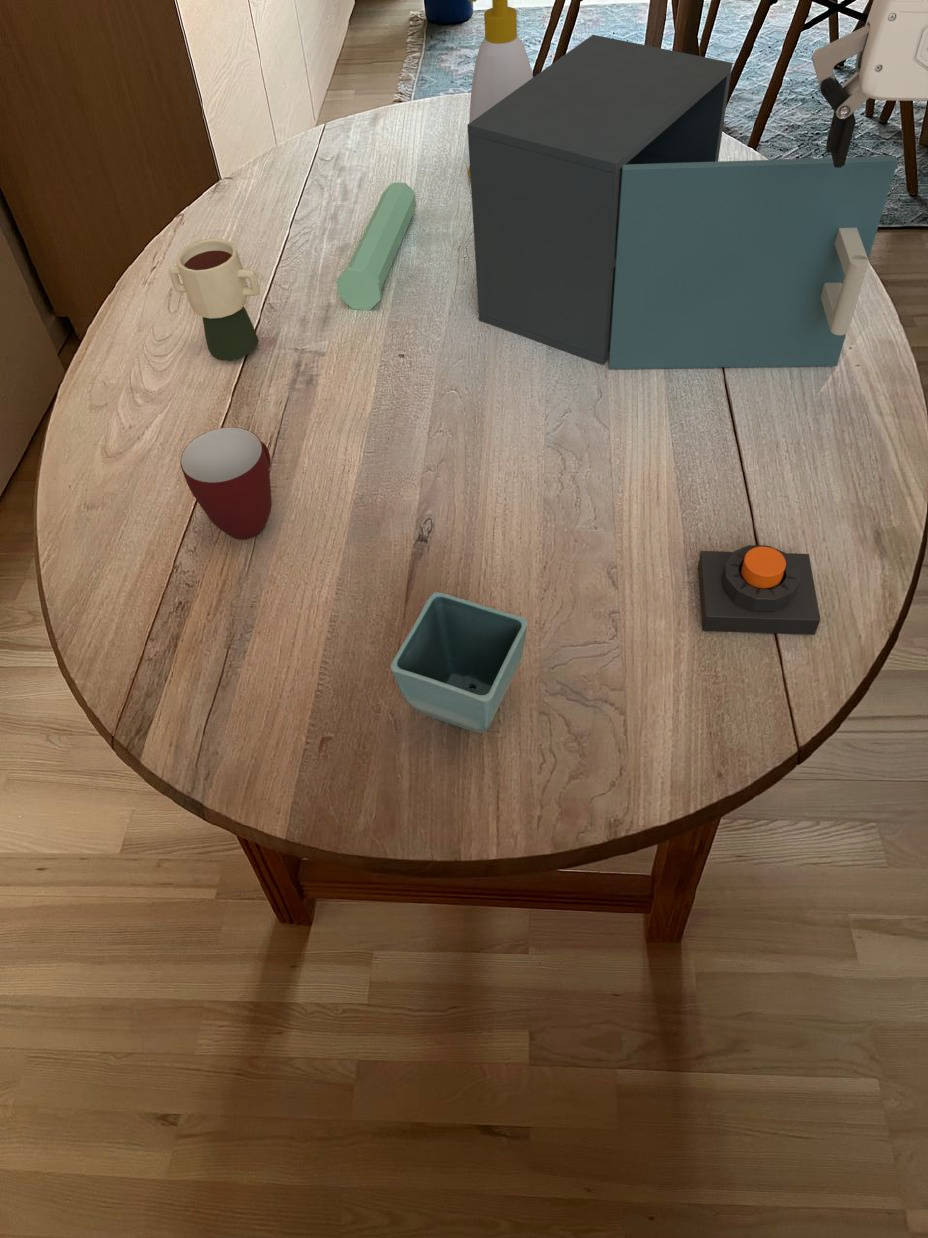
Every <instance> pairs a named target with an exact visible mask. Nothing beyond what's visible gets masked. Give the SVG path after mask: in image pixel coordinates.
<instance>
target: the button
mask: <svg viewBox="0 0 928 1238" xmlns="http://www.w3.org/2000/svg"><path fill="white" fill-rule="evenodd" d="M773 548H774V547H773ZM773 548H770V547H755V548H753V549H751V550H749V551H748V552H747V553H746V555H745V558H744V562H743V566H742V570H741V573H742V576H743V578H744V580H745V581H746V582H747V583H748V584H750V585H752V586H754V587H756V588H761V589H767V588H772V587H774V586H776V585H778V584H779V583H780V581H781V580H782V576H783V573H784V570H785V567H786V561H785V558H784V556H783V555H782V554H781V553H780V552H779V551H777V550H775V549H776V548H775V549H773Z"/></svg>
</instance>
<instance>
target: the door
mask: <svg viewBox="0 0 928 1238" xmlns="http://www.w3.org/2000/svg"><path fill="white" fill-rule="evenodd" d="M898 161H899V160H898V158H897V156H896V155H880V156H879V155H878V156H847V157H846V161H845V165H844V166H842V167H841V168H835V167H834V163H833V159H832V157H818V158H817V157H816V158H815V157H814V158H813V157H812V158H788V159H783V158H782V159H755V160H754V159H753V160H751V159H750V160H729V161H728V160H727V161H726V160H725V161H723V160H722V161H720V160H719V161H718V162H689V163H658V164H628V165H622V177H621V192H620V207H619V221H618V236H617V251H616V266H615V280H614V295H613V310H612V324H611V339H610V354H609V360H608V369H609V370H624V369H625V370H626V369H627V370H628V369H629V370H630V369H637V370H638V369H694V368H695V369H697V368H698V369H703V368H705V369H706V368H707V369H708V368H775V367H777V368H778V367H780V368H781V367H784V368H785V367H786V368H787V367H837V366H838V363H839V360H840V356H841V353H842V349H843V347H844V343H845V340H846V336H847V334H848V333H849V329H850V326H851V323H852V320H853V316H854V313H855V309H856V306H857V304H858V303H857V302H858V299H859V296H860V293H861V289H862V286H863V283H864V279H865V276H866V272H867V269H868V266H869V263H870V260H869V258H870V255H871V252H872V249H873V245H874V243H875V240H876V239H875V238H876V237H877V236H876V235H877V232H878V228H879V225H880V221H881V218H882V215H883V211H884V208H885V205H886V201H887V200H888V199H887V198H888V195H889V192H890V188H891V185H892V182H893V178H894V174H895V172H896V167H897V165H898Z"/></svg>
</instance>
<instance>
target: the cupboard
mask: <svg viewBox="0 0 928 1238" xmlns="http://www.w3.org/2000/svg"><path fill="white" fill-rule="evenodd" d="M732 69H733V62H731V61H725V60H721V59H715V58H710V57H707V56H706V57H705V56H702V55H701V56H700V55H696V54H692V53H691V54H690V53H687V52H686V53H685V52H681V51H677V50H672V49H671V50H670V49H666V48H661V47H656V46H651V45H646V44H643V43H642V44H641V43H637V42H631V41H626V40H621V39H617V38H612V37H607V36H601V35H596V34H592V35H591V36H588V37H587V38H586V39H585V40H584V41H582V42H581V43H579V44H578V45H576V46H575V47H574V48H572V49H570V50H569V51H567V53H565V54H564V55H562V56H560V57H559V58H558V59H557V60H555V61H554V62H553V63H551V64H550V65H549V66H547V67H545V68H544V69H543V70H541V71H540V72H538V74H536V75H535V76H533V78H532V79H530V80H529V81H528V82H526V83H525V84H523V85H522V86H521V87H519V88H518V89H516V90H515V91H514V92H512V93H511V94H510V95H508V96H507V97H505V98H504V99H503V100H501V101H500V102H498V103H497V104H496V105H494V106H493V107H491V108H490V109H489V110H487V111H486V112H484V113H483V114H482V115H480V116H479V117H477V118H476V119H475V120H473V121H472V122H471V123H469V122H468V123H467V125H466V126H467V142H468V158H469V159H468V160H469V166H470V177H469V179H470V178H471V179H470V193H471V194H470V195H471V208H472V211H471V212H472V225H473V227H472V228H473V242H474V259H475V274H476V275H475V276H476V289H477V290H476V293H477V294H476V295H477V309H478V311H477V312H478V321H480V322H483V323H485V324H489V325H491V326H494V327H496V328H500V329H502V330H505V331H508V332H511V333H513V334H516V335H518V336H521V337H524V338H527V339H530V340H533V341H535V342H537V343H538V342H539V343H541V344H543V345H547V346H549V347H551V348H554V349H556V350H559V351H563V352H566V353H568V354H571V355H574V356H576V357H580V358H581V359H585V360H587V361H591V362H593V363H596V364H599V365H602V366H604V365H605V364H606V363H607V362H609V354H610V339H611V324H612V310H613V295H614V280H615V266H616V251H617V236H618V221H619V207H620V192H621V177H622V165H628V164H658V163H689V162H719V157H720V151H721V145H722V138H723V130H724V124H725V117H726V112H727V111H726V109H727V103H728V96H729V91H730V83H731V76H732Z"/></svg>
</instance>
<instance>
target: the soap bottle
mask: <svg viewBox="0 0 928 1238" xmlns="http://www.w3.org/2000/svg"><path fill="white" fill-rule="evenodd" d="M468 1H469V2H473V3H476V2H477V0H468ZM491 2H492V3H491V4H492V5H491V6H492V7H490V8H488V9H486V10H484V13H483V16H484V17H483V18H484V19H483V20H484V38H483V40H482V41H481V43H480V45H479V48H478V51H477V55H476V59H475V63H474V68H473V74H472V79H471V81H472V82H471V90H470V102H469V118H468V119H469V120H468V124H469V123H471V122H472V121H473V120H475V119H476V118H477V117H479V116H480V115H482V114H483V113H484V112H486V111H487V110H489V109H490V108H491V107H493V106H494V105H496V104H497V103H498V102H500V101H501V100H503V99H504V98H505V97H507V96H508V95H510V94H511V93H512V92H514V91H515V90H516V89H518V88H519V87H521V86H522V85H523V84H525V83H526V82H528V81H529V80H530V79H532V78H533V77H534V75H533V70H532V67H531V63H530V59H529V55H528V52H527V49H526V48H525V44H524V42H522V40H521V38H520V37H519V36H518V20H517V19H518V18H517V12H518V11H517V9H516V8H515V7H512V6H509V4H508V2H509V1H508V0H491ZM467 175H468V177H469V179H470V180H471V178H470V165H469V166H468V170H467Z"/></svg>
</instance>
